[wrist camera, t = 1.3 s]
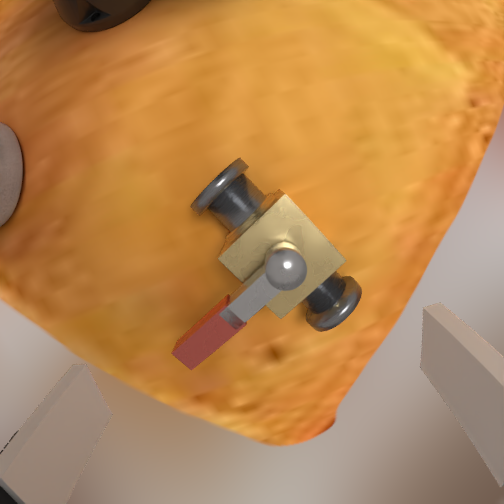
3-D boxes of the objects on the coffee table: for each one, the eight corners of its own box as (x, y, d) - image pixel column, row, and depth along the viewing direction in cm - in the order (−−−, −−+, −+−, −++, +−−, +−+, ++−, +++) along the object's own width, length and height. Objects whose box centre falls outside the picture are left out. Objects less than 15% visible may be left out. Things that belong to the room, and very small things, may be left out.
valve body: (194, 207, 35) (175, 217, 27) (246, 155, 33) (242, 150, 25) (305, 317, 38) (315, 351, 30) (355, 272, 36) (378, 297, 28)
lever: (284, 234, 27) (287, 242, 24) (309, 261, 27) (315, 271, 24) (174, 336, 29) (167, 352, 26) (199, 357, 30) (194, 374, 27)
